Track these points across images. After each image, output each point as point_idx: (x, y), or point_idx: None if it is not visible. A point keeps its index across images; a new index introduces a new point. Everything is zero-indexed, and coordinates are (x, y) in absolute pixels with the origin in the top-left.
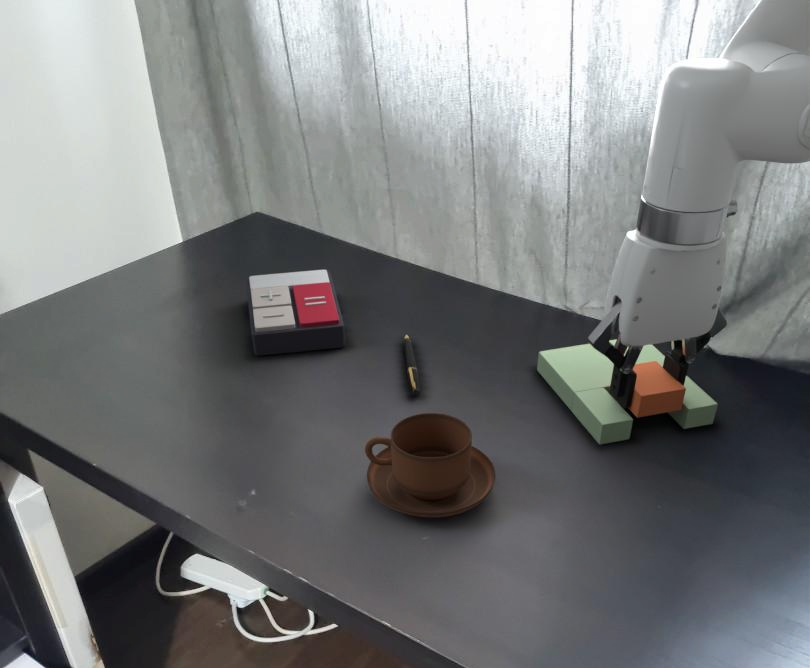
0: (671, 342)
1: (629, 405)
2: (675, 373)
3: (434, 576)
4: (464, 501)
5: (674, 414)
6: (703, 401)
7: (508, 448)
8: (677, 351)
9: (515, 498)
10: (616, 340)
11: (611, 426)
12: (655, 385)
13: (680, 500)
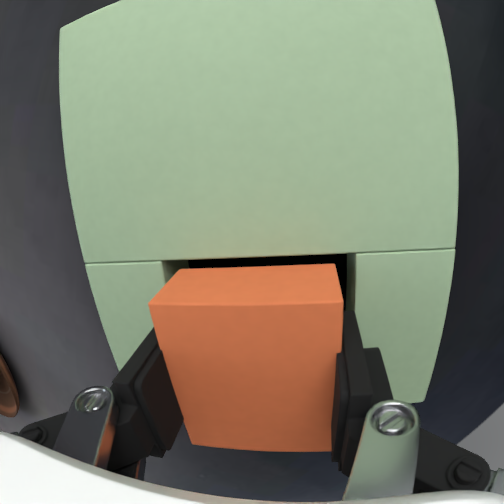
0: (359, 442)
1: None
2: (332, 427)
3: (18, 431)
4: (7, 390)
5: None
6: (402, 390)
7: (25, 317)
8: (354, 458)
9: (47, 401)
10: (54, 445)
11: None
12: (252, 425)
13: (233, 478)
